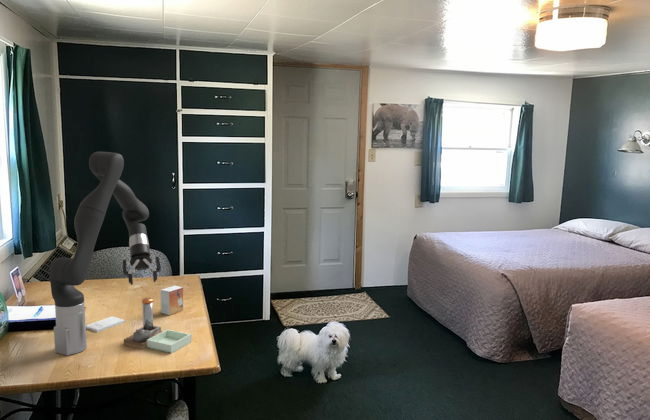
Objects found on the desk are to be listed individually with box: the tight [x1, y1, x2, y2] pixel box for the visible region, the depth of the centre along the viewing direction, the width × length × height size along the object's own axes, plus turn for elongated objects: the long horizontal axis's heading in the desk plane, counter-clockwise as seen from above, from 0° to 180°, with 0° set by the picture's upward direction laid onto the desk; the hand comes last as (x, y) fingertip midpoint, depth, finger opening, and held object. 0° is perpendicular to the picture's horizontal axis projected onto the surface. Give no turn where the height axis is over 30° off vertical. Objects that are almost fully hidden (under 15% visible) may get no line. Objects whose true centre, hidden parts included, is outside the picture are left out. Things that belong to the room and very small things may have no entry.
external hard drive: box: [86, 315, 125, 333], centre depth 204 cm, size 2×8×12 cm
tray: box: [146, 329, 192, 354], centre depth 186 cm, size 11×11×3 cm
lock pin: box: [141, 297, 154, 331], centre depth 191 cm, size 4×4×13 cm
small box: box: [159, 285, 184, 316], centre depth 219 cm, size 8×6×10 cm
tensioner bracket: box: [123, 325, 164, 350], centre depth 189 cm, size 12×9×5 cm
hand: (143, 282), depth 201 cm, fingers open, 8 cm apart
